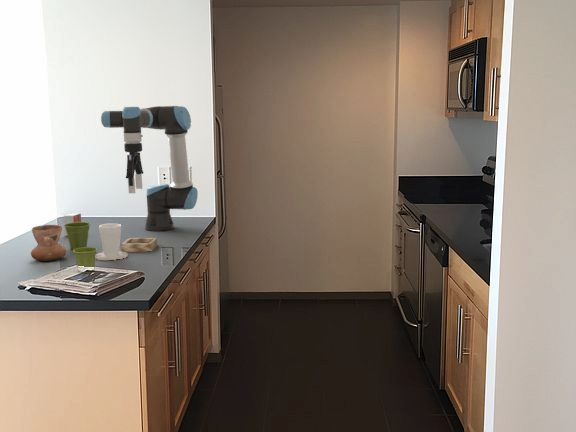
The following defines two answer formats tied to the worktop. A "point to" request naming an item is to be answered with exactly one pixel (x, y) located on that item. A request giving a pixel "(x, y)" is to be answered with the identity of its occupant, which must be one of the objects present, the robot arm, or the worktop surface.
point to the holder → (139, 244)
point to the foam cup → (110, 238)
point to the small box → (71, 219)
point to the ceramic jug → (47, 243)
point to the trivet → (101, 256)
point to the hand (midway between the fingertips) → (135, 190)
